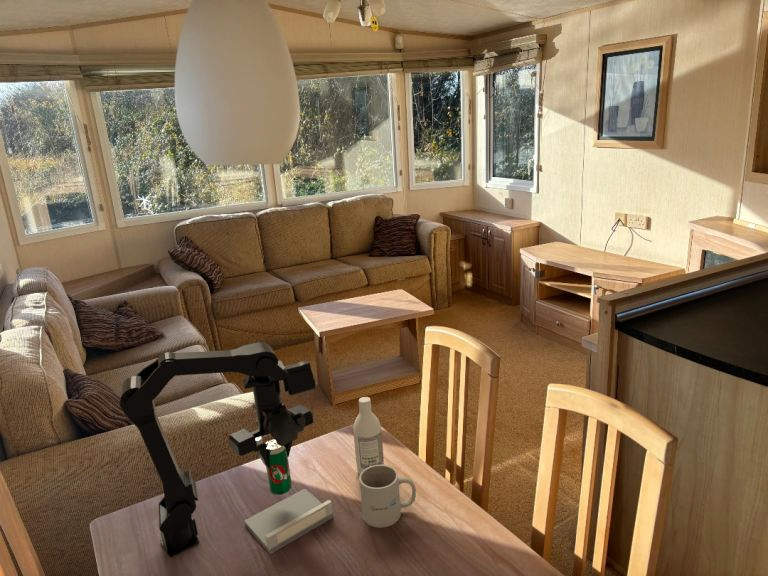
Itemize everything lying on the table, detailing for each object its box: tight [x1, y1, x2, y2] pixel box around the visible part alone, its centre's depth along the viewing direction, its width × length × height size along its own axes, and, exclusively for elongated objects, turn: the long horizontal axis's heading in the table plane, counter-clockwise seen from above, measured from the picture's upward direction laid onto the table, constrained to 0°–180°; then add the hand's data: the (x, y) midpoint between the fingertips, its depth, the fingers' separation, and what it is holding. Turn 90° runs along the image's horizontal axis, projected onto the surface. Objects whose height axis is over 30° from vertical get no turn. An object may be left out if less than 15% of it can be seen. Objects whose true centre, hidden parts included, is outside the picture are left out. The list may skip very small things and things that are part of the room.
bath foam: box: [352, 396, 385, 475], centre depth 138 cm, size 7×7×20 cm
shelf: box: [243, 488, 334, 555], centre depth 124 cm, size 16×12×4 cm
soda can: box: [265, 438, 293, 496], centre depth 126 cm, size 5×5×12 cm
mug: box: [358, 464, 417, 528], centre depth 124 cm, size 12×9×10 cm
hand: (277, 461), depth 125 cm, fingers closed on soda can, 5 cm apart
